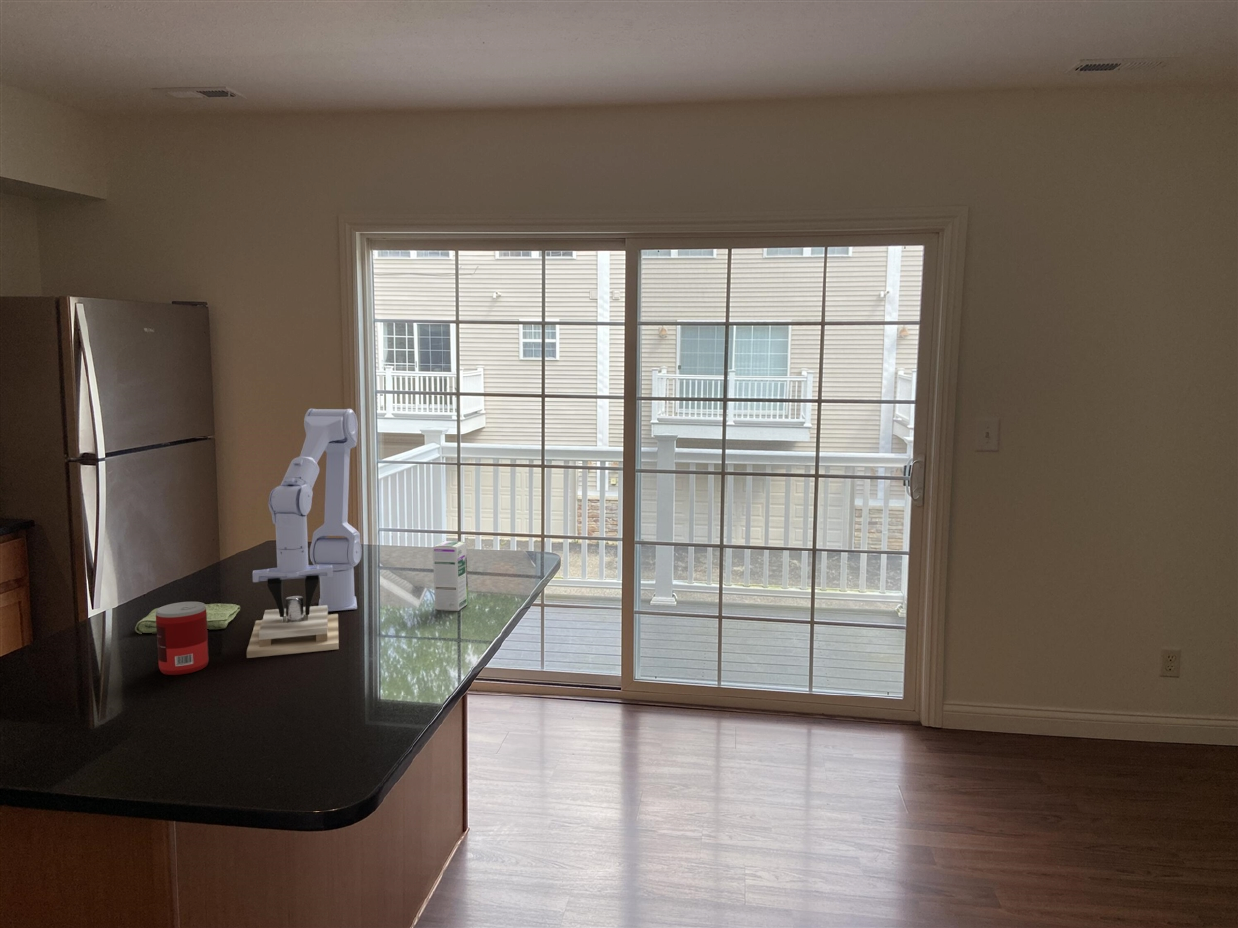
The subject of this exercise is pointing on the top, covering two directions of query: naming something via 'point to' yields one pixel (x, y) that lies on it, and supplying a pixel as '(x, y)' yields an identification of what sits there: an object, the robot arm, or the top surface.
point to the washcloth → (215, 618)
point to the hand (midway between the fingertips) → (294, 614)
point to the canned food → (182, 637)
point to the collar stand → (294, 633)
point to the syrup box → (450, 575)
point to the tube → (294, 609)
